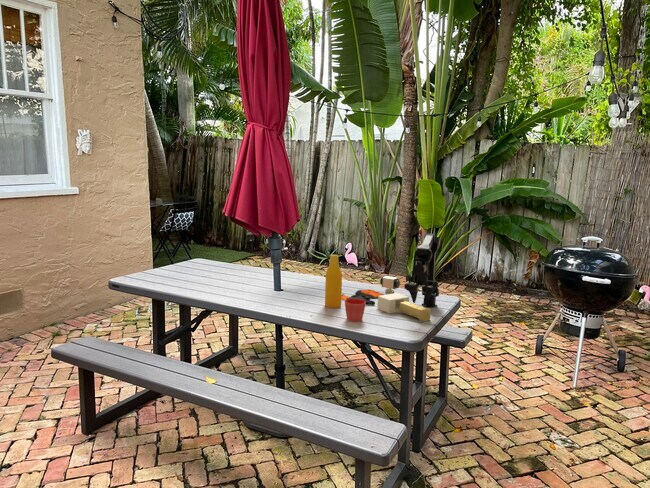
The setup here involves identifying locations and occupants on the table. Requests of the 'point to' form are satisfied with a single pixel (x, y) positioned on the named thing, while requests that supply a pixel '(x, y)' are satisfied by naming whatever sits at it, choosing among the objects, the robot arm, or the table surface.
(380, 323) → the table surface
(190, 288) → the table surface
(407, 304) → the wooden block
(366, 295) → the pair of gloves
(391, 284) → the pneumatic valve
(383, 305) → the block
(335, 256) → the beer bottle
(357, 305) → the flower pot
